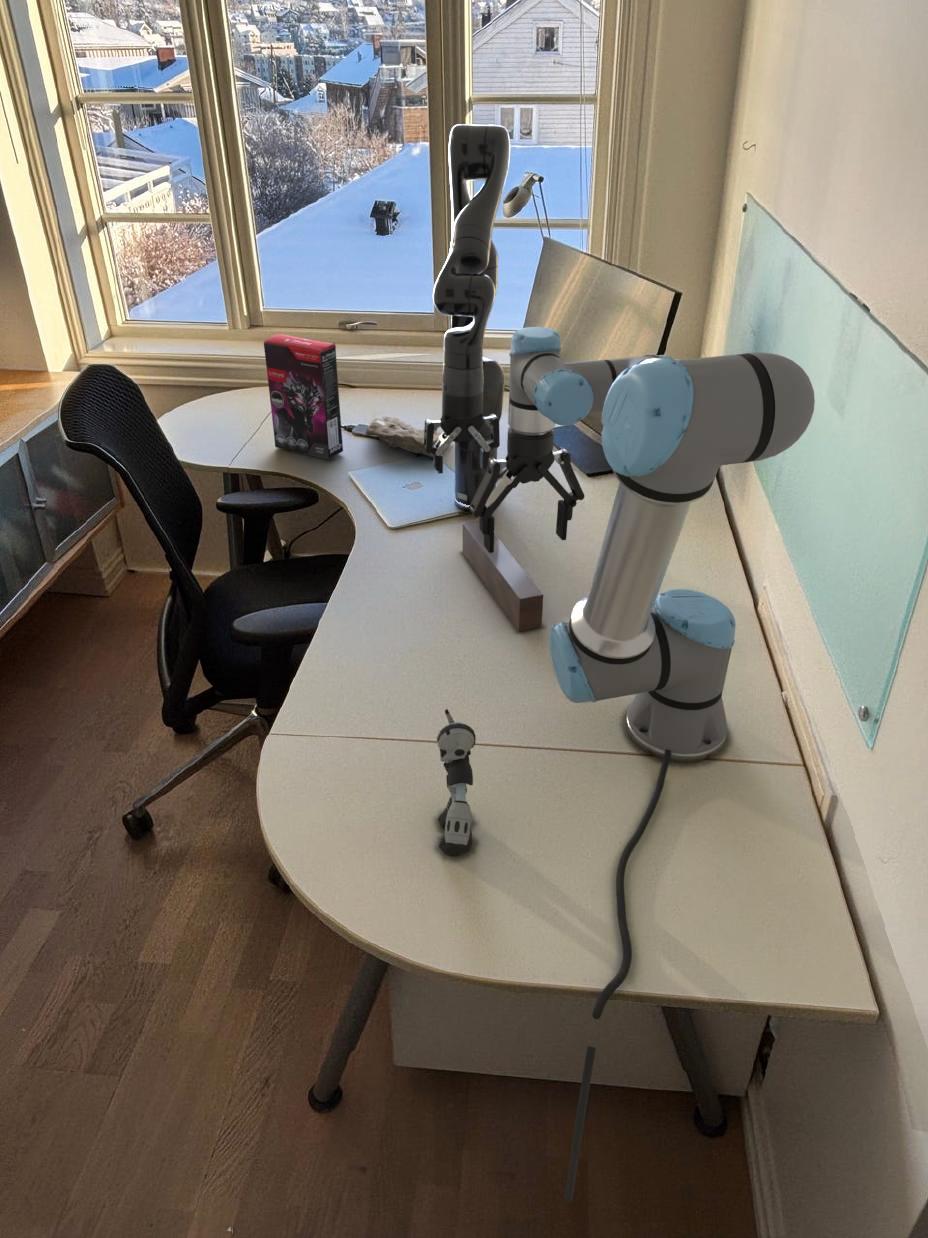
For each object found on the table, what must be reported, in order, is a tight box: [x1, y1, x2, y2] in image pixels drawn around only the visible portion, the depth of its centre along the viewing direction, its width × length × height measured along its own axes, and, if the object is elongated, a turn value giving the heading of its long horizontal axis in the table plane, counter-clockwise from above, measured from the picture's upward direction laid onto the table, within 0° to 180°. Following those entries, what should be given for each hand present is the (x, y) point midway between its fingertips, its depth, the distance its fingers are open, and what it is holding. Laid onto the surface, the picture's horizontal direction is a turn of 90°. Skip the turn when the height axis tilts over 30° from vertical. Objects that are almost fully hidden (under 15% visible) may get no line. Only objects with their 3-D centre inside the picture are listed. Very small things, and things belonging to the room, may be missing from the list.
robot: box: [436, 708, 477, 857], centre depth 119 cm, size 20×5×20 cm, turn 3°
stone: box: [365, 416, 442, 458], centre depth 231 cm, size 21×15×6 cm
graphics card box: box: [263, 333, 344, 460], centre depth 223 cm, size 17×7×27 cm, turn 62°
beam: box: [461, 519, 544, 633], centre depth 176 cm, size 30×4×7 cm, turn 20°
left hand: (461, 469), depth 177 cm, fingers open, 8 cm apart
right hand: (525, 542), depth 160 cm, fingers open, 13 cm apart
